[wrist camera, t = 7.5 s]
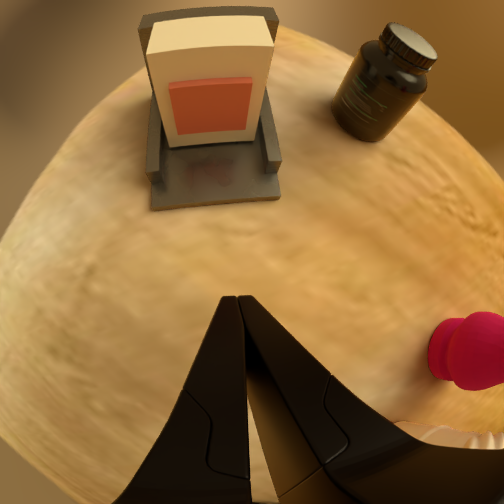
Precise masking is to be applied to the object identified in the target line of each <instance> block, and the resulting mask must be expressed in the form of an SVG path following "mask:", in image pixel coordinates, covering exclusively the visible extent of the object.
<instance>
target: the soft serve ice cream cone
mask: <svg viewBox="0 0 504 504" xmlns="http://www.w3.org/2000/svg"><path fill="white" fill-rule="evenodd" d="M394 424H395V425H396V426H398V427H399V428H400V429H402V430H403V431H405V432H406V433H408V434H409V435H411V436H413V437H414V438H416V439H418V440H420V441H423V442H426V443H429V444H433V445H439V446H447V447H458V448H471V449H503V448H504V434H503V432H500V433H497V434H496V435H494V436H493V435H492V433H491V432H490V431H487V432H485V433H484V434H479V433H477V432H474V431H473V432H463V431H460V430H456V429H452V428H451V427H450V426H447V425H439V426H433V425H426V424H419V423H413V422H407V421H399V422H396V423H394Z"/></svg>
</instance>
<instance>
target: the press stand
mask: <svg viewBox="0 0 504 504" xmlns="http://www.w3.org/2000/svg"><path fill="white" fill-rule="evenodd" d="M208 16H264V19H265V21H266V24H267V27H268V29H269V32H270V35H271V38H272V41H273V43H274V41H275V37H276V33H277V28H278V24H279V19H278V17H277V15H276V13H275V11H274V9H273V8H269V7H251V6H221V7H203V8H190V9H180V10H173V11H165V12H159V13H153V14H148V15H143V17H142V20H141V22H140V25H139V28H138V32H139V37H140V42H141V46H142V51H143V55H144V59H145V63H146V68H147V72H148V76H149V80H150V84H151V88H152V91H153V92H152V100H151V109H150V118H149V129H148V141H147V156H146V174H147V176H148V178H149V180H150V182H151V184H152V209H153V211H159V210H168V209H176V208H185V207H195V206H205V205H215V204H227V203H238V202H251V201H265V200H279V199H280V197H281V193H280V187H279V181H278V176H277V172H278V170H279V167H280V165H281V162H282V158H281V153H280V148H279V143H278V138H277V134H276V129H275V124H274V120H273V115H272V111H271V106H270V102H269V97H268V93H267V89H266V87H265V91H264V96H263V101H262V105H261V110H260V115H259V120H258V124H257V129H256V134H255V139H254V141H234V142H219V143H207V144H196V145H187V146H178V147H169V144H168V140H167V137H166V133H165V129H164V126H163V122H162V118H161V114H160V111H159V107H158V103H157V99H156V95H155V91H154V87H153V83H152V79H151V75H150V70H149V66H148V62H147V57H146V52H147V48H148V44H149V40H150V36H151V32H152V29H153V25H154V23H156V22H162V21H168V20H176V19H184V18H194V17H208Z"/></svg>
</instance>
